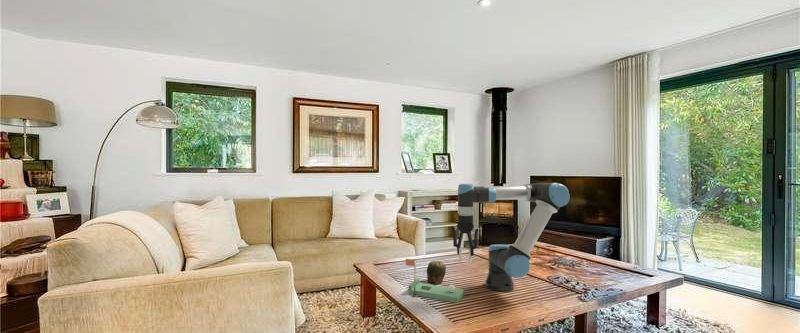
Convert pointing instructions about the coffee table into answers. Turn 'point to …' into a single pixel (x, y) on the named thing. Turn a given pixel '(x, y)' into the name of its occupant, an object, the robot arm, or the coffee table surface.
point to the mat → (435, 292)
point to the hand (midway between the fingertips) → (465, 261)
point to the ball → (451, 288)
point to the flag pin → (413, 263)
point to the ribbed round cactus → (436, 272)
